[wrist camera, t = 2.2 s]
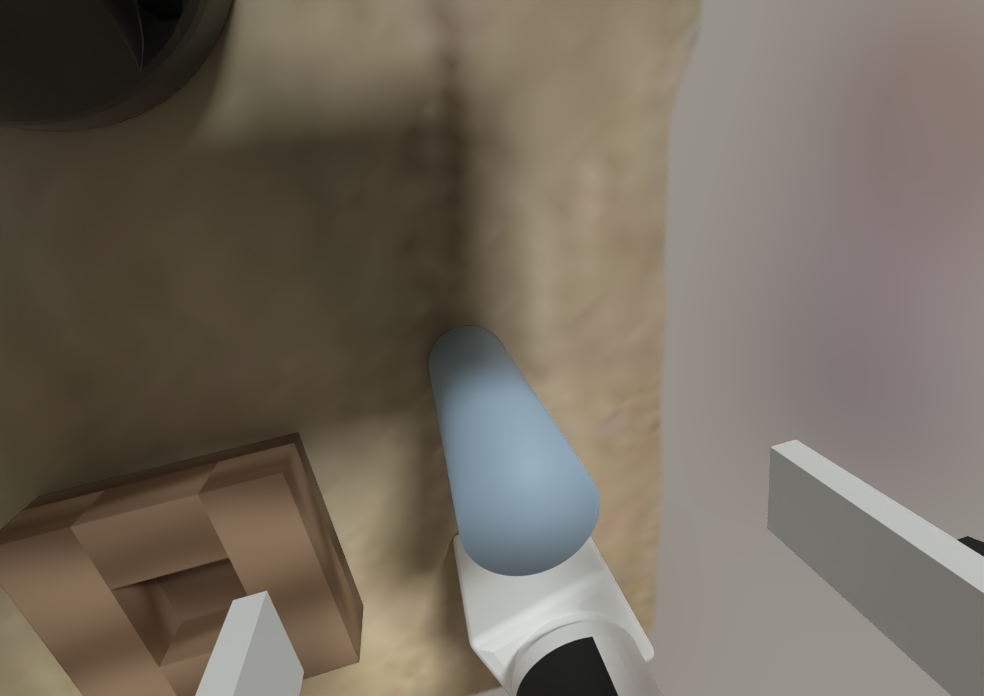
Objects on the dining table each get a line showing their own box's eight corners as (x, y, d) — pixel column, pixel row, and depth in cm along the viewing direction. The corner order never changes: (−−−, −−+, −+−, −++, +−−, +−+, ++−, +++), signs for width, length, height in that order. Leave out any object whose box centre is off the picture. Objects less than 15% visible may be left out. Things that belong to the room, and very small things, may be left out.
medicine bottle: (503, 609, 30) (568, 860, 19) (449, 535, 27) (487, 777, 16) (600, 554, 30) (722, 772, 19) (556, 475, 27) (667, 674, 16)
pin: (420, 335, 23) (444, 477, 12) (498, 317, 23) (592, 437, 12) (437, 406, 24) (473, 592, 13) (511, 388, 25) (605, 552, 14)
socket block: (37, 496, 22) (-25, 551, 19) (297, 432, 23) (282, 472, 20) (149, 669, 26) (114, 737, 23) (363, 606, 28) (359, 662, 24)
